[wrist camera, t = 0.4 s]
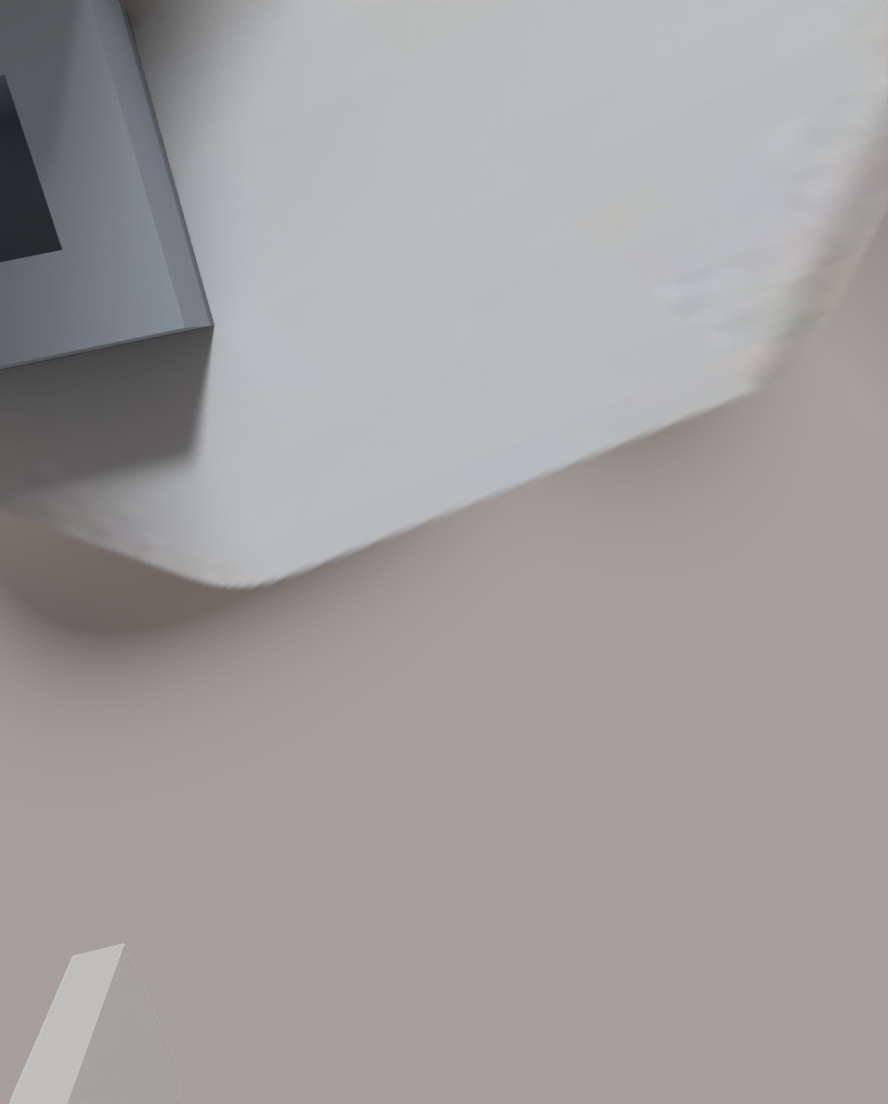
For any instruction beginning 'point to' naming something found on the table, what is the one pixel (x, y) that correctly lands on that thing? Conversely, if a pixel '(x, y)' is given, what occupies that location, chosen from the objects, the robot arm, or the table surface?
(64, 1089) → the robot arm
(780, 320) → the table surface
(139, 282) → the socket block
